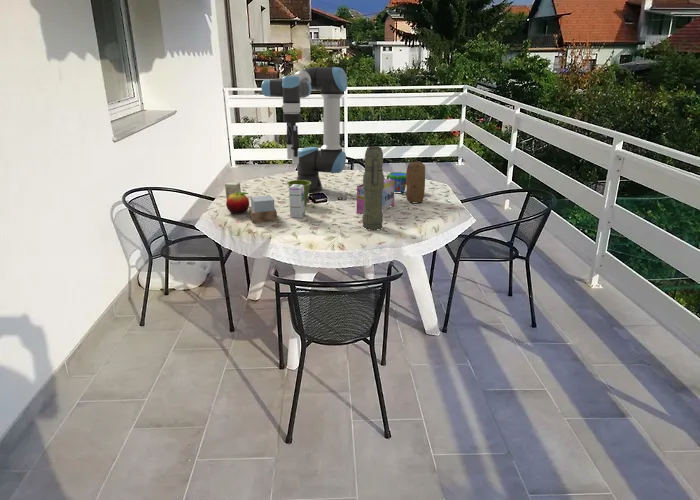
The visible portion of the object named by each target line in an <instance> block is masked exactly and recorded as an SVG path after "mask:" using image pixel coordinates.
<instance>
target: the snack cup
mask: <svg viewBox="0 0 700 500" xmlns="http://www.w3.org/2000/svg"><path fill="white" fill-rule="evenodd" d="M386 179H390V180H393V179H394V192H404V191H405V192H406V189H407V186H406V172H402V171H397V172H394V171H393V172H389V173H388V174H387V176H386ZM405 192H404V193H405Z"/></svg>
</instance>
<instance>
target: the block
mask: <svg viewBox="0 0 700 500" xmlns="http://www.w3.org/2000/svg"><path fill="white" fill-rule="evenodd" d="M405 173H406V189H405V194H406V199H407V201H408V202H409V201H410V202H409V203H411V202H421V203H423V202H422V201H424V198H425V190H426V188H425V187H426V165H425V164H424V163H423V162H421V161H412V162H409V163H408V165H407V168H406V172H405Z"/></svg>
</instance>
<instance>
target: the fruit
mask: <svg viewBox="0 0 700 500" xmlns="http://www.w3.org/2000/svg"><path fill="white" fill-rule="evenodd" d="M248 194H249V193H248V192H244V191H241V193H238V192H236V193H233V194H230V195H229V197H228V199H226V203H225V206H226V209H227V210H228V211H229V212H230V213H231V214H232V215H233V214H234V215H242V214H245V213H246V212H247V211H249V207H250V200H249V198H248V196H247V195H248Z"/></svg>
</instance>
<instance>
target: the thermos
mask: <svg viewBox="0 0 700 500" xmlns="http://www.w3.org/2000/svg"><path fill="white" fill-rule="evenodd" d="M383 165H384V152H383V149H382V147H380V146H377V145H375V146H374V145H371V146H368V147H366V150H365V153H364V166H365V167H364V173H363V176H362V184H363V189H364V210H363V215H362V218H361V219H362V220H361V222H362V228H363V227H364V228H366V229H370V230H369V231H378V230H377V229H380V230H382V229H383V223H384V212H383V211H382V190H383V188H384V178H385V174H384V171H383V170H384V169H383ZM364 228H363V229H364ZM381 228H382V229H381ZM366 229H365V230H366Z"/></svg>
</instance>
